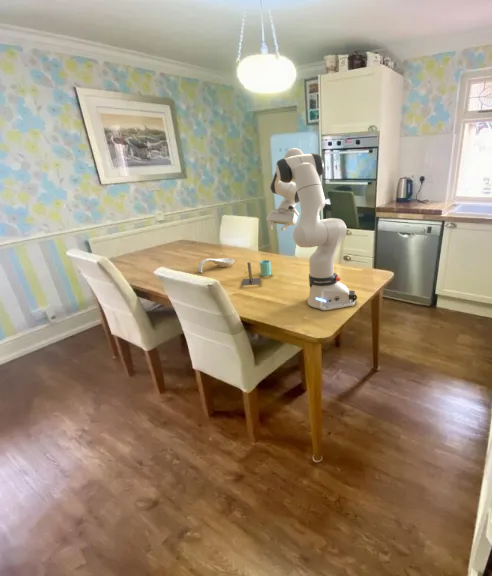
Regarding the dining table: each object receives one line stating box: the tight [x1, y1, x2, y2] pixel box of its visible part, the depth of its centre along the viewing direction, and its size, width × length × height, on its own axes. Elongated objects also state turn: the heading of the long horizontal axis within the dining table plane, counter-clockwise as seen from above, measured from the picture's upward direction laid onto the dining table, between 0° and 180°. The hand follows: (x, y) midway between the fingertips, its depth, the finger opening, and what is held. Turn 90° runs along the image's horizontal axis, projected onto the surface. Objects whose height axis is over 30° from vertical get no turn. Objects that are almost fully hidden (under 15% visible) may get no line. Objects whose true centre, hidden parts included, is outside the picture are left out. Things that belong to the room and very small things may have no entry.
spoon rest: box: [197, 257, 235, 274], centre depth 202 cm, size 24×12×7 cm, turn 135°
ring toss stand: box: [240, 261, 262, 286], centre depth 174 cm, size 10×10×12 cm
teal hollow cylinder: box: [259, 259, 273, 277], centre depth 185 cm, size 6×6×9 cm
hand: (276, 229), depth 187 cm, fingers open, 8 cm apart
